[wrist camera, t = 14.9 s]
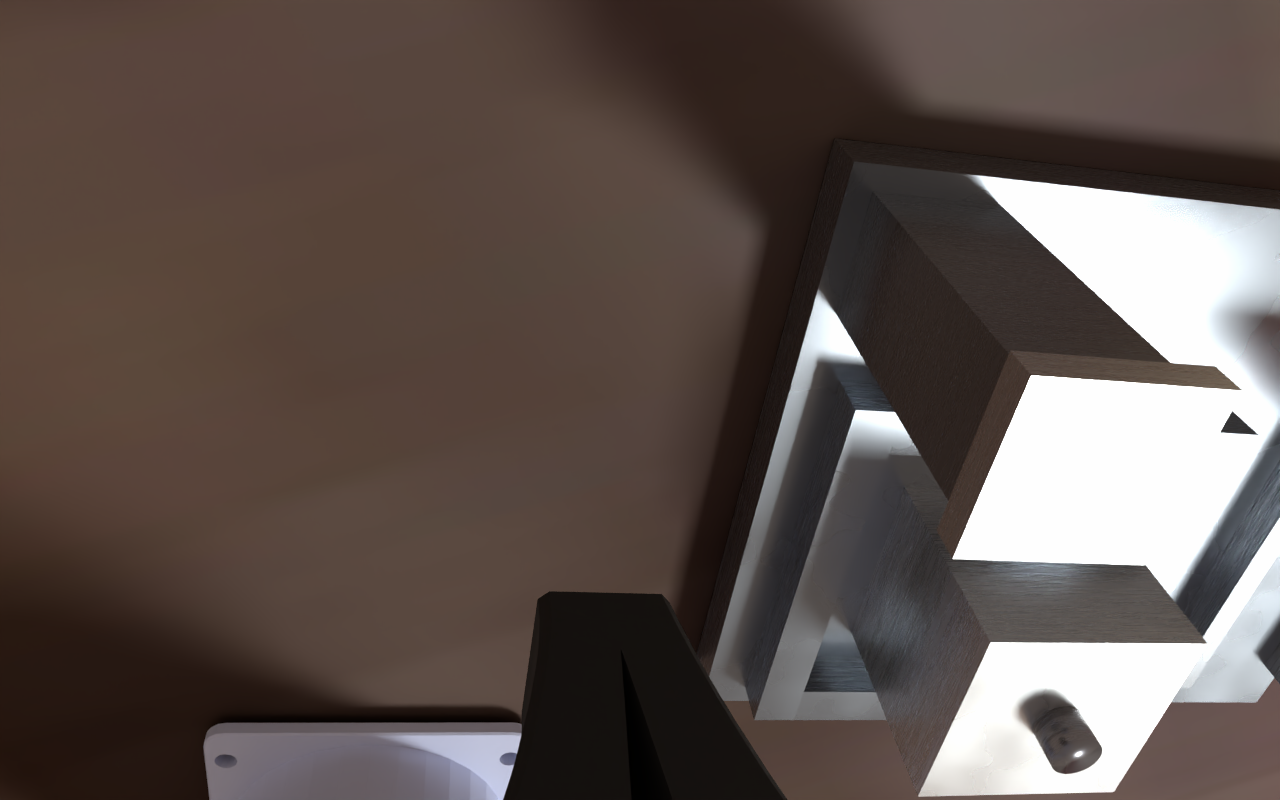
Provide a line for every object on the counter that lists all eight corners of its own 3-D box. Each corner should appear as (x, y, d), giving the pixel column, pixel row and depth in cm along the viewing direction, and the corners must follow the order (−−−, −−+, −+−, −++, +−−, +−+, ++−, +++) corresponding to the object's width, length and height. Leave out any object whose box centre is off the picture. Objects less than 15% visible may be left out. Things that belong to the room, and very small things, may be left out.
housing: (1020, 635, 25) (1133, 825, 21) (852, 633, 24) (932, 831, 20) (1090, 494, 23) (1233, 676, 18) (904, 487, 22) (1010, 676, 18)
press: (1230, 668, 29) (1441, 936, 23) (694, 663, 26) (763, 971, 20) (1535, 220, 22) (1980, 429, 15) (834, 138, 19) (1019, 356, 12)
